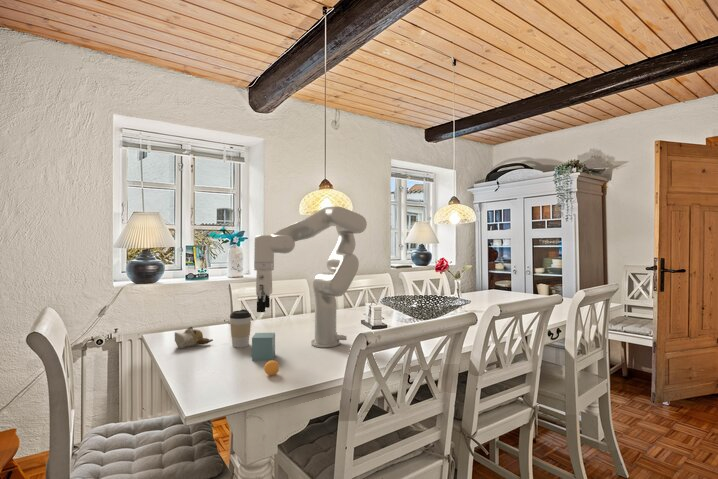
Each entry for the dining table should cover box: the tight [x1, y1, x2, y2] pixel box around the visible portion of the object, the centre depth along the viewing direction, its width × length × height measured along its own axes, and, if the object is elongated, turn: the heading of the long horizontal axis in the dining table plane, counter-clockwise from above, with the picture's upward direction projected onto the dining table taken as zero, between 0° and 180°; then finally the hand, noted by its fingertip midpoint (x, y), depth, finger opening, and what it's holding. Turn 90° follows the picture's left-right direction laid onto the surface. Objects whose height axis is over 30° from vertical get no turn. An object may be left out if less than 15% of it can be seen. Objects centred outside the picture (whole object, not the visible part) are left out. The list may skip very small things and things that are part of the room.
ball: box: [263, 360, 280, 377], centre depth 137 cm, size 5×5×5 cm
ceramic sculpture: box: [174, 326, 214, 350], centre depth 172 cm, size 11×9×15 cm
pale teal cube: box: [251, 332, 276, 362], centre depth 157 cm, size 8×8×9 cm
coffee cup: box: [229, 309, 252, 348], centre depth 174 cm, size 9×9×15 cm
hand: (263, 309), depth 157 cm, fingers open, 9 cm apart
